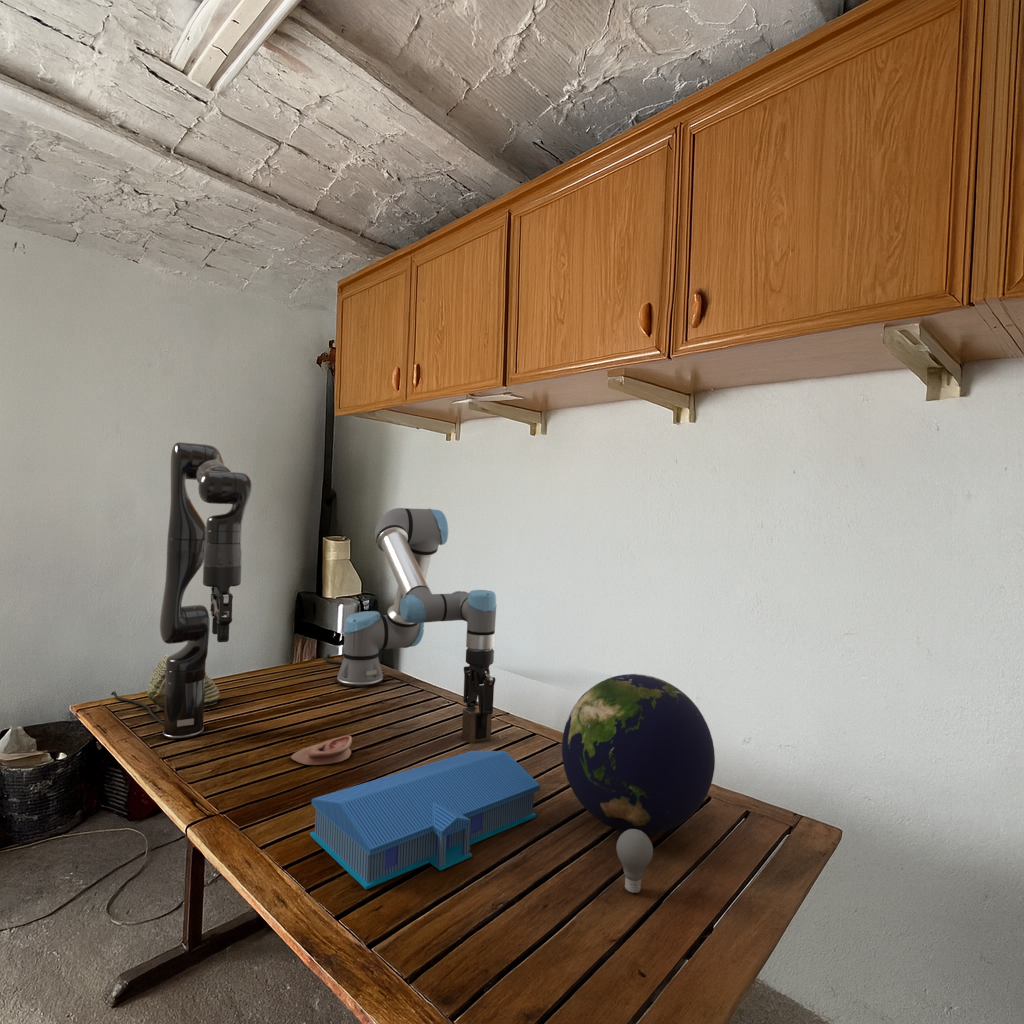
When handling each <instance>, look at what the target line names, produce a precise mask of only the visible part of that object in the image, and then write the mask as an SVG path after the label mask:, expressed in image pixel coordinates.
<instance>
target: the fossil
mask: <svg viewBox="0 0 1024 1024" xmlns="http://www.w3.org/2000/svg"><path fill="white" fill-rule="evenodd" d="M171 655H172V654H165V655H164V656H163V657H162V658H161V659H160V660H159V662H158V663H157V666H156V667H155V669H154V670H153V672H152V675H151V677H150V680H149V684H148V688H147V697H148V699H149V700H150V701H152V703H153V704H154V706H155V711H158V712H159V711H162V712H163V711H164V705H165V674H166V660H167V658H168V657H169V656H171ZM220 698H221V696H220V690H219V688H218V686H217V685H216V683H215V682H214V681H213V679H212V678H211V677H209V675H208V674H207V672H206V671H205V693H204V707H207V706H213V705H215V704H217V703H218V701H219V699H220Z"/></svg>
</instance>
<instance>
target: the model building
mask: <svg viewBox="0 0 1024 1024" xmlns="http://www.w3.org/2000/svg"><path fill="white" fill-rule="evenodd" d="M538 791H541V784H540V783H539V782H538V781H537V780H536V779H535V778H534V777H533V776H532V775H531V774H530V773H529V772H527V771H526V769H524V768H523V766H521V764H519V762H517V761H516V760H515V759H514V757H512V756H511V755H510V754H509V753H508V752H507V750H471V751H467V752H464V753H460V754H457V755H454V756H449V757H447V758H444V759H441V760H437V761H434V762H431V763H427V764H423V765H420V766H417V767H414V768H410V769H407V770H403V771H400V772H397V773H394V774H390V775H387V776H384V777H381V778H380V777H379V778H377V779H374V780H371V781H366V782H364V783H360V784H357V785H354V786H350V787H347V788H344V789H339V790H337V791H334V792H330V793H327V794H324V795H319V796H316V797H314V798H311V806H313V807H314V808H315V817H314V831H311V832H310V833H309V836H310V838H312V839H313V840H314V841H315V842H316V843H317V845H319V846H320V847H321V848H322V849H323V850H325V852H326V853H327V854H329V856H330V857H331V858H333V859H334V860H335V861H336V862H337V863H338V864H339V865H340V866H341V867H342V868H343V869H344V870H345V871H346V872H347V874H349V875H350V876H351V877H352V878H353V879H354V880H355V881H356V882H357V883H359V885H361V886H362V887H363V888H364V890H369V889H371V888H373V887H375V886H378V885H381V884H382V883H385V882H388V881H389V880H392V879H394V878H397V877H399V876H402V875H404V874H406V873H408V872H410V871H413V870H416V869H417V868H420V867H423V866H424V865H427V864H429V863H430V864H431V865H432V866H433V867H434V868H436V869H437V870H438V871H440V872H441V871H443V870H445V869H448V868H450V867H452V866H455V865H457V864H459V863H461V862H463V861H465V860H468V859H471V858H473V853H471V852H470V851H471V846H472V845H474V844H476V843H478V842H482V841H484V840H486V839H488V838H490V837H493V836H495V835H497V834H499V833H502V832H505V831H506V830H507V831H508V830H510V829H512V828H513V827H516V826H519V825H520V824H523V823H525V822H527V821H530V820H532V819H535V818H537V817H538V814H537V813H535V812H534V798H535V797H534V796H535V792H538Z"/></svg>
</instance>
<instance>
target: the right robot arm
mask: <svg viewBox="0 0 1024 1024" xmlns="http://www.w3.org/2000/svg"><path fill="white" fill-rule="evenodd" d="M448 524H449V523H448V521H447V517H446V515H445V514H444V512H443V511H442V510H441V509H432V508H408V507H407V508H405V507H397V508H392V509H391V510H388V511H386V512H385V513H384V514H383V515H382V516H381V517H380V518H379V520H378V521H377V524H376V525H375V530H374V539H375V543H376V546H377V547H378V549H379V550H380V551H381V552H383V553H384V555H385V558H386V560H387V562H388V564H389V567H390V568H391V572H392V574H393V577H394V578H395V581H396V584H397V589H396V593H395V597H394V602H393V604H392V605H390V606H389V607H388V608H387V612H386V614H385V615H383V614H381V613H380V612H379V611H376V610H370V611H369V610H367V611H360V612H354V613H352V614H350V615H348V616H347V617H346V618H345V621H344V628H343V633H344V636H343V637H344V638H343V659H342V661H339V660H338V661H337V660H330V658H331V654H330V653H328V654H326V656H325V657H324V660H325V662H326V663H328V664H335V665H340V668H339V671H338V673H337V677H336V682H337V683H338V684H339V686H343V687H349V688H367V687H374V686H377V685H380V684H381V683H383V681H384V674H383V670H382V667H381V663H380V659H379V652H380V651H381V650H390V649H392V650H393V649H408V648H412V647H416V646H417V645H419V644H420V643H421V641H422V639H423V637H424V632H425V629H424V627H425V623H436V622H438V623H439V622H454V621H464V622H466V640H465V642H466V643H465V647H466V650H465V663H466V664H467V666H466V665H465V666H463V676H464V677H463V681H464V682H463V700H462V701H463V703H464V704H465V705H466V708H469V707H476V706H479V713H477V730H476V739H483V738H486V735H487V716H488V714H492V715H493V713H494V694H495V684H496V677H495V676H491V672H490V666H491V665H493V664H494V659H495V650H494V648H495V638H496V635H495V633H496V617H497V594H496V592H494V591H492V590H487V589H473V590H470V591H469V592H468V591H464V590H463V591H461V590H457V591H454V592H452V593H432V591H431V589H430V587H429V585H428V583H427V581H426V579H427V575H428V571H429V567H430V563H431V558H432V556H434V555H435V554H436V553H438V549H439V546H443V545H445V544H446V543H447V542H448V539H449V525H448Z"/></svg>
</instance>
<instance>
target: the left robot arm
mask: <svg viewBox="0 0 1024 1024" xmlns="http://www.w3.org/2000/svg"><path fill="white" fill-rule="evenodd" d="M169 470H170V503H169V504H170V505H169V517H168V527H167V541H166V567H165V582H164V591H163V595H162V602H161V603H162V604H161V610H160V617H159V634H160V638H161V640H162V641H163V642H164V644H167V645H168V644H169V645H172V644H180V643H181V644H183V643H186V644H185V645H184V646H183V647H182V648H181V649H180V650H178V651H176V652H174V653H172V654H170V655H171V656H169V657H168V658H167V660H166V674H165V705H164V710H163V720H161V719H160V718H159V717H158V716H157V715H156V714H155V713H154V712H153V711H152V709H151V707H150V706H148V705H146V704H145V703H142V702H140V701H138V700H135V699H130V698H126V697H125V698H124V697H121V696H118V693H117V692H116V691H114V690H113V691H112V692H111V693H110V696H114V698H115V699H116V700H119V701H123V702H128V703H132V704H135V705H138V706H140V707H143V708H145V709H146V710H147V711H148V713H149V715H150V716H151V717H152V718H153V719H154V720H155V721H157V722H159V723H161V724H163V731H162V737H164V738H166V739H169V740H185V739H190V738H191V739H192V738H194V737H197V736H199V735H202V734H203V732H204V730H205V729H204V722H205V721H204V718H205V706H204V693H205V672H206V664H207V663H206V662H207V658H208V653H209V652H208V651H209V641H210V640H209V639H210V631H211V633H212V634H213V635H217V636H216V641H217V642H218V643H227V642H229V641H230V625H231V623H232V622H233V600H234V596H233V595H234V594H232V593H231V592H230V588H231V587H238V586H240V585H241V583H242V564H243V563H242V561H243V552H242V551H243V550H242V527H243V521H244V516H245V513H246V509H247V506H248V503H249V501H250V498H251V495H252V492H253V484H252V483H253V482H252V480H251V478H250V477H249V475H247V473H244V472H239V471H237V472H236V471H232V470H230V469H229V468H228V467H227V466H226V465H225V463H224V460H223V458H222V455H221V452H220V451H219V449H218V448H216V447H215V446H214V445H211V444H204V443H203V444H202V443H195V442H194V443H192V442H182V441H181V442H180V441H178V442H175V443H174V445H172V448H171V452H170V469H169ZM186 480H192V481H193V480H194V481H196V482H197V483H198V488H197V489H198V490H197V491H198V495H199V498H200V499H201V500H202V501H203V502H204V503H206V504H207V503H208V504H211V505H212V504H213V505H231V507H230V509H229V510H228V511H227V512H225V513H220V514H214V515H211V516H208V517H207V519H206V523H205V521H204V520H203V519H202V517H201V515H200V514H199V512H198V511H197V510H196V507H195V506H194V505H193V503H192V500H191V498H190V496H189V494H188V491H187V485H186ZM202 566H203V568H202V569H203V570H202V585H203V586H205V587H209V588H211V589H210V590H211V593H210V609H209V610H210V613H209V610H208V608H207V607H206V606H205V605H203V604H192V605H191V604H190V605H182V604H183V599H184V595H185V592H186V590H187V588H188V586H189V584H190V583H191V581H192V579H193V578H194V577H195V576H196V574H197V573H198V571H200V569H201V567H202ZM210 615H211V617H212V621H211V617H210Z"/></svg>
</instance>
